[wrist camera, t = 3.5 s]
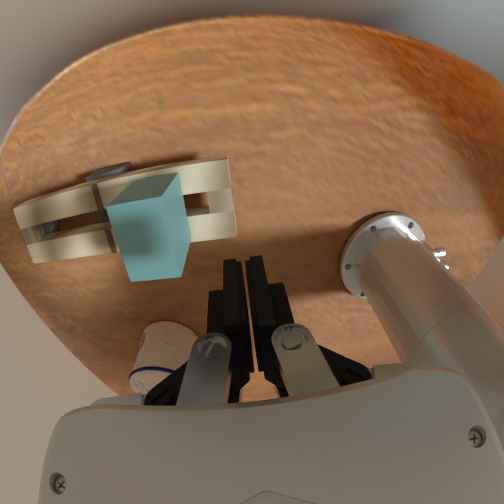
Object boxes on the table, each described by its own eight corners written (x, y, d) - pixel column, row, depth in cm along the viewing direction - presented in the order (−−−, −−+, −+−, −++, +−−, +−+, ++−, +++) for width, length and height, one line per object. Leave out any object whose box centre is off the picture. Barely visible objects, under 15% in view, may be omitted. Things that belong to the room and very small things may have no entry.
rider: (182, 167, 23) (161, 196, 16) (193, 229, 26) (181, 277, 19) (140, 175, 23) (105, 206, 16) (154, 234, 26) (131, 282, 19)
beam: (227, 144, 25) (226, 153, 21) (236, 219, 29) (237, 242, 25) (35, 189, 25) (11, 205, 20) (54, 246, 29) (35, 267, 25)
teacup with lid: (134, 318, 36) (112, 386, 25) (196, 317, 36) (189, 391, 26) (155, 368, 42) (144, 428, 32) (208, 369, 42) (205, 432, 32)
